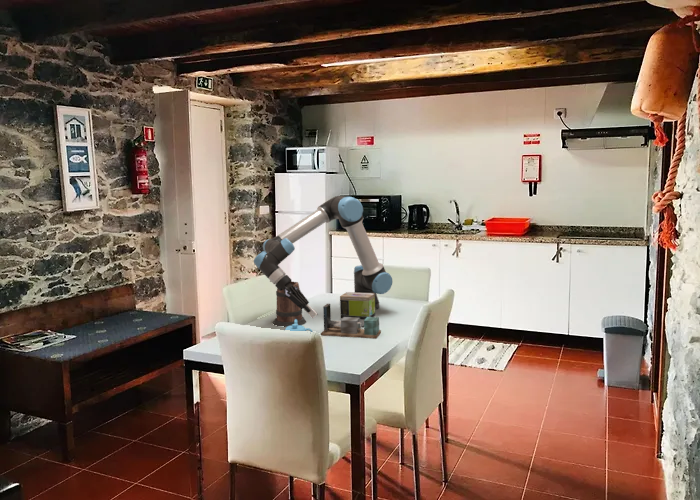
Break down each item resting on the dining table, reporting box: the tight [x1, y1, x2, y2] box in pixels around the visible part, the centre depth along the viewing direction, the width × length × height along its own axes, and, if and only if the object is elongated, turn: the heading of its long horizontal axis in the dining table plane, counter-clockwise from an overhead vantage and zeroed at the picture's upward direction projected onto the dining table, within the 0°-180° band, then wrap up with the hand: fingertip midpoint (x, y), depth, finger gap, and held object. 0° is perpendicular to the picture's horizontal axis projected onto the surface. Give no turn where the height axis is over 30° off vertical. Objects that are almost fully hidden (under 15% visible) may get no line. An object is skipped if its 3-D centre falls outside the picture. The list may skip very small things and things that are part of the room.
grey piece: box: [322, 303, 362, 331], centre depth 272 cm, size 17×6×11 cm, turn 76°
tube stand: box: [320, 316, 382, 339], centre depth 271 cm, size 26×10×8 cm, turn 76°
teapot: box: [284, 319, 314, 333], centre depth 249 cm, size 15×14×11 cm
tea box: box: [339, 291, 376, 327], centre depth 287 cm, size 15×10×15 cm
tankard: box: [272, 280, 307, 328], centre depth 295 cm, size 24×17×20 cm
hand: (315, 316), depth 275 cm, fingers closed
